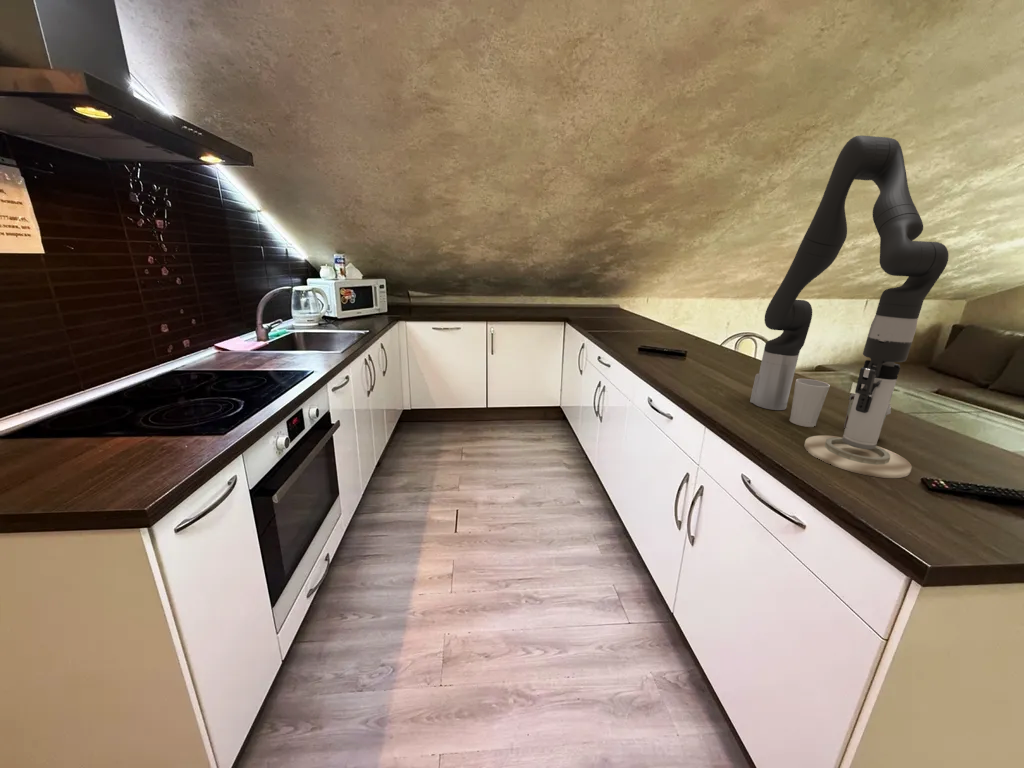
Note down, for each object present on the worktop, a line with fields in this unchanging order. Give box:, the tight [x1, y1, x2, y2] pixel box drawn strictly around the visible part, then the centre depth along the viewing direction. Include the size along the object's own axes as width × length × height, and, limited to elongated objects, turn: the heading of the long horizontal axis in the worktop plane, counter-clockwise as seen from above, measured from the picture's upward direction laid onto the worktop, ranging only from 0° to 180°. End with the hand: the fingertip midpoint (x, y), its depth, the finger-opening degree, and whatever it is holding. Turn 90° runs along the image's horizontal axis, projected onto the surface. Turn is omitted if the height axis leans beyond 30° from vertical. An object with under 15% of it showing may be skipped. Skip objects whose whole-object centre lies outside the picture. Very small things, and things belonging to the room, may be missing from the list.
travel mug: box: [842, 359, 901, 450], centre depth 99 cm, size 6×7×20 cm
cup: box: [789, 378, 831, 428], centre depth 122 cm, size 8×8×12 cm
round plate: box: [803, 435, 913, 479], centre depth 102 cm, size 20×20×2 cm
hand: (868, 409), depth 99 cm, fingers closed on travel mug, 6 cm apart
